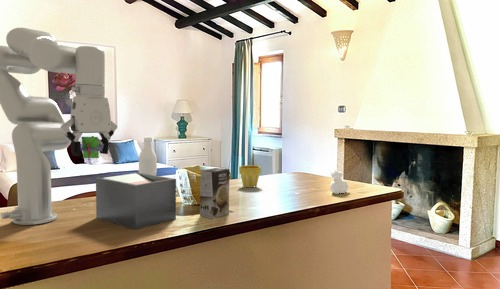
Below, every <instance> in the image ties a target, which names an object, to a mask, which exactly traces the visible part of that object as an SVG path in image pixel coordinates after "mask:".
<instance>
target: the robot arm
mask: <svg viewBox="0 0 500 289" xmlns="http://www.w3.org/2000/svg"><path fill="white" fill-rule="evenodd" d="M5 39H6V44H7V45H0V107H1V108H2V110H3V113H4V115H5V116H6V118H7V120H8V122H10V123H11V124H13V125H16V126H14V128H13V129H12V131H11V140H12V145H13V148H14V154H15V161H16V162H15V163H16V180H17V181H16V184H17V187H16V188H17V206H16V207H14V209H13V210H11V211H10V212H9V211H6V212H2V213H0V218H1V220H6V219H9V220H12V223H13V224H15V225H21V226H30V225H39V224H40V225H41V224H46V223H50V222H53V221H55V220H56V219H57V218H58V214H57V213H56V212H54V211H53V210H52V208H53V206H52V205H53V204H52V172H51V171H52V170H51V169H52V168H51V162H50V161H49V159H48V157H47V156H46V155H45V153H44V152H49V151H60V150H64V149H66V148H67V149H68V148H69V146H70V149H71V150H70V151H71V154H72V156H74V157H81V156H82V152H81V144H82V143H81V141H80V140H81V137H82V135H83V134H98V135H99V137H100V138H101V139H100V140H101V142H102V143H103V144H104V146H103V149H102V152H101V151H99V154H100V153H101V155H102V154H103V155H108V154H109V145H110V144H109V142H110V140H111V138H112V136H113V135H114V134H115V132H116V130H117V128H118V125H117V124H116V123H115V122H114V121H113V120H112V119H111V118H112V117H111V110H110V104H109V99H108V97H106V95H105V93H106V86H105V84H106V82H105V80H106V76H105V75H106V69H105V68H106V66H105V65H106V64H105V62H106V56H105V55H106V54H105V51H104V49H103V48H101V47H98V46H92V45H91V46H90V45H79V46H78V47H73V46H67V45H62V44H58V41H57V39H56V37H55V36H54V35H52V34H51V33H50V32H47V31H42V30H38V29H37V30H36V29H32V28H26V27H15V28H13V29H11V30H9V31H8V32H7V34H6V37H5ZM40 70H43V71H47V72H52V73H61V74H68V75H69V74H70V75H75V85H74V86H71V92H73V93H74V95H75V96H73V98H72V103H71V107H70V118H69V119H68V120H67V121H66V119H65V117H64V115H63V113H62V111H61V109H60V108H59V106H58V104H57V103H56V102H55V101H54V100H53V99H51V98H50V97H46V96H45V97H44V96H33V95H30V94H28V92H27V91H26V89H25V87H24V85H23V83H21V82H20V81H19V79H17V78H16V77H14V75H12V74H19V75H20V74H22V75H23V74H24V75H33V74H37V73H38V72H39V71H40ZM10 73H11V74H10Z"/></svg>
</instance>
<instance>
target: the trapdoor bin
mask: <svg viewBox="0 0 500 289" xmlns="http://www.w3.org/2000/svg"><path fill="white" fill-rule="evenodd" d="M134 173H136V174H138V175H140V176H142V177H144V178H146V179H148V180H150V181H152V182H150V183H144V184H138V185H135V184H130V183H125V182H120V181H115V180H110V179H105V177H100V176H99V177H95V200H96V201H95V205H96V206H95V207H96V210H95V211H96V216H95V217H96V219H98V220H102V221H105V222H108V223H112V224H115V225H119V226H123V227H125V228H128V229H131V230H135V231H137V230H141V229H144V228H147V227H151V226H154V225H158V224H162V223H165V222H169V221H173V220H176V219H177V190H176V189H177V178H172V177H168V176H167V177H166V176H161V175H157V174H156V175H150V174H144V173H139V171H138V172H137V171H136V172H134Z"/></svg>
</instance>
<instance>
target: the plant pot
mask: <svg viewBox="0 0 500 289" xmlns="http://www.w3.org/2000/svg"><path fill="white" fill-rule="evenodd" d="M238 168H239V169H238V170H239V171H238V172H239V175H240V178H241V181H242V187H243V186H244V187H243V188H246V187H254V186H258V181H259V177H260V175H261V171H262V170H261V166H260V165H252V164H251V165H249V164H247V165H246V164H245V165H239V167H238ZM254 188H255V187H254Z"/></svg>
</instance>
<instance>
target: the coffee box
mask: <svg viewBox="0 0 500 289" xmlns="http://www.w3.org/2000/svg"><path fill="white" fill-rule="evenodd" d="M230 171H231V170H230V169H229V168H223V167H222V168H220V167H219V168H218V167H214V168H209V169H208V168H207V169H201V170H200V181H199V182H200V187H199V189H200V191H199V192H200V193H199V195H200V196H199V217H202V218H207V219H211V220H215V219H218V218H221V217H224V216H227V215H229V214H230Z"/></svg>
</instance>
